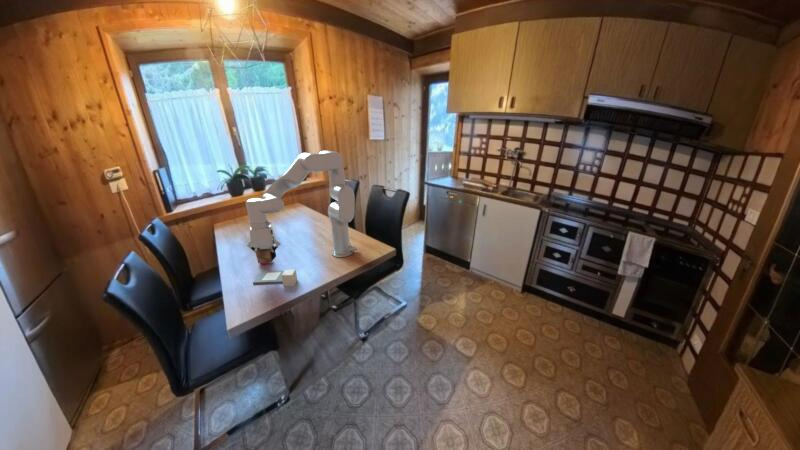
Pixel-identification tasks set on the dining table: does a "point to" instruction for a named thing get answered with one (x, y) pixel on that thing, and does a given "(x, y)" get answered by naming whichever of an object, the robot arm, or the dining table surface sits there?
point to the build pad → (269, 277)
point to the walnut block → (264, 255)
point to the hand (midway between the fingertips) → (266, 258)
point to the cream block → (289, 277)
